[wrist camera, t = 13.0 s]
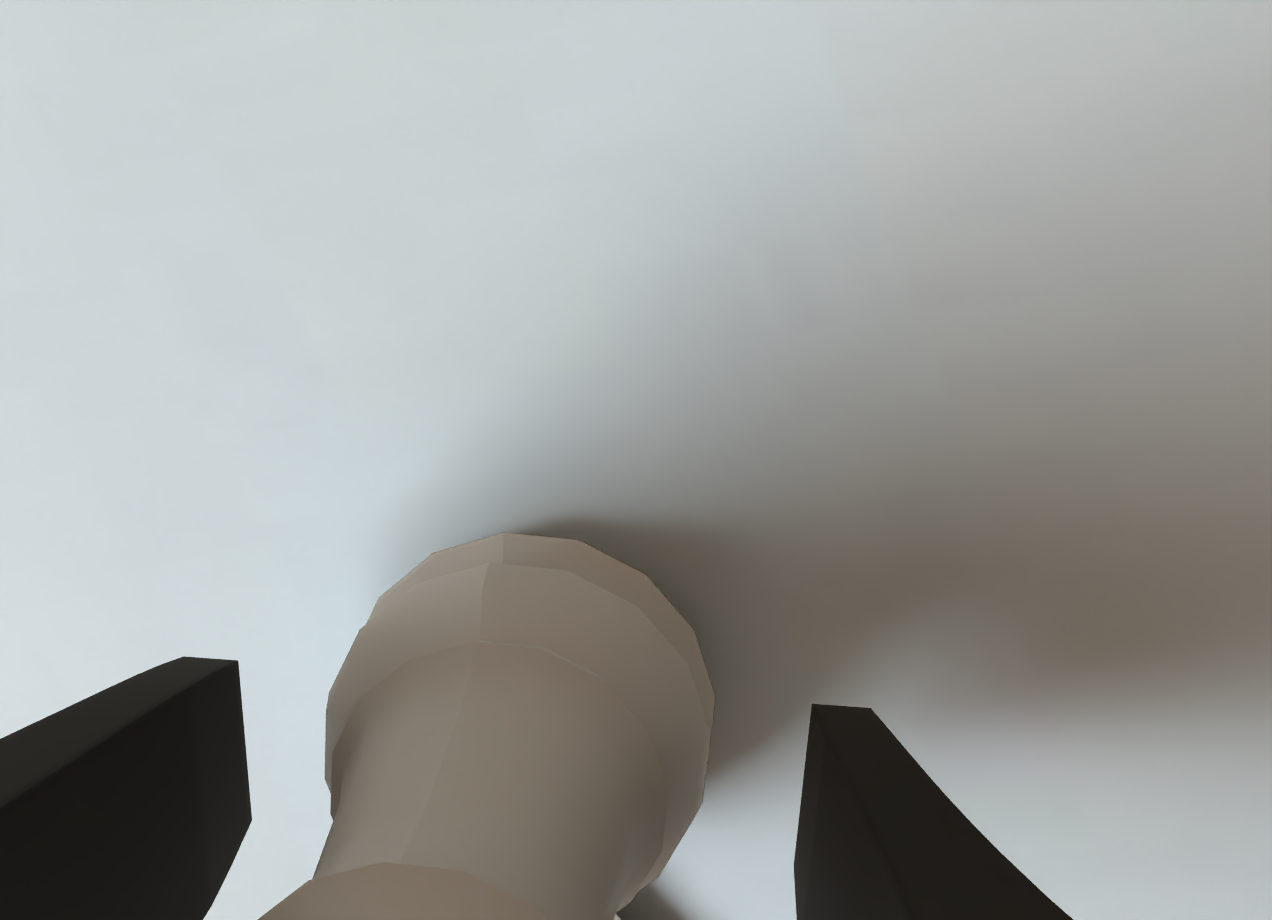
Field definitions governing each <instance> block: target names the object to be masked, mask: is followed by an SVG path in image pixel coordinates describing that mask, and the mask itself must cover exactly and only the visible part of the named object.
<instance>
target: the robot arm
mask: <svg viewBox="0 0 1272 920" xmlns="http://www.w3.org/2000/svg"><path fill="white" fill-rule="evenodd" d="M251 821H252V816H251V804H250V793H249V781H248V770H247V758H246V746H245V735H244V723H243V712H242V700H241V689H240V677H239V666H238V661H235V660H222V659H209V658H195V657H181V658H178V659H176V660H173V661H170V662H167V663H164V664H162V665H159V666H157V667H154V668H152V669H150V670H147V671H145V672H143V673H140V674H138V675H136V676H134V677H131V678H129V679H127V680H125V681H122V682H120V683H118V684H116V685H114V686H112V687H110V688H107V689H105V690H103V691H101V692H99V693H97V694H95V695H93V696H90V697H88V698H86V699H84V700H82V701H80V702H78V703H76V704H74V705H71V706H69V707H67V708H65V709H63V710H61V711H59V712H57V713H54V714H52V715H50V716H48V717H46V718H44V719H42V720H40V721H37V722H35V723H33V724H31V725H29V726H27V727H25V728H23V729H20V730H18V731H16V732H14V733H12V734H10V735H8V736H6V737H4V738H1V739H0V920H203V919H204V917H205V915H206V914H207V912H208V911H209V909H210V907H211V906H212V904H213V902H214V900H215V898H216V896H217V894H218V892H219V890H220V888H221V886H222V884H223V882H224V880H225V878H226V876H227V873H228V871H229V869H230V867H231V865H232V863H233V861H234V859H235V856H236V854H237V852H238V850H239V848H240V845H241V843H242V841H243V839H244V837H245V834H246V832H247V830H248V828H249V826H250V823H251ZM794 877H795V895H796V913H797V920H1073V919H1072V918H1071V917H1070V916H1068V915H1067V914H1066V913H1065V912H1064V911H1063V910H1062V909H1060V908H1059V907H1058V906H1057V905H1056V904H1055V903H1054V902H1052V901H1051V900H1050V899H1049V898H1048V897H1047V896H1046V895H1045V894H1044V893H1043V892H1042V891H1040V890H1039V889H1038V888H1037V887H1036V886H1035V885H1034V884H1033V883H1032V882H1031V881H1030V880H1029V879H1028V878H1027V877H1026V876H1025V875H1024V874H1023V873H1021V872H1020V871H1019V870H1018V869H1017V868H1016V867H1015V866H1014V865H1013V864H1012V863H1011V862H1010V861H1009V860H1008V859H1007V858H1006V857H1005V856H1004V855H1002V854H1001V853H1000V852H999V851H998V850H997V849H996V848H995V847H994V846H993V845H992V843H991V842H990V841H989V840H988V839H987V838H986V837H985V836H984V835H983V834H982V833H981V832H980V831H979V830H978V829H977V828H976V827H975V826H974V825H973V824H972V823H971V822H970V821H969V820H968V819H967V818H966V817H965V816H964V815H963V813H962V812H961V811H960V810H959V809H958V808H957V807H956V806H955V805H954V804H953V803H952V802H951V801H950V799H949V798H948V797H947V796H946V795H945V794H944V793H943V792H942V791H941V790H940V788H939V787H938V786H937V785H936V784H935V783H934V782H933V780H932V779H931V778H930V777H929V776H928V775H927V773H926V772H925V771H924V770H923V769H922V768H921V767H920V765H919V764H918V763H917V762H916V761H915V760H914V758H913V757H912V756H911V755H910V754H909V753H908V751H907V750H906V749H905V748H904V747H903V745H902V744H901V743H900V742H899V741H898V740H897V738H896V737H895V736H894V735H893V734H892V733H891V731H890V730H889V729H888V728H887V727H886V726H885V724H884V723H883V722H882V721H881V720H880V719H879V717H878V716H877V715H876V714H875V713H874V712H873V710H872V709H871V708H861V707H848V706H835V705H821V704H812V707H811V716H810V725H809V734H808V743H807V752H806V761H805V770H804V779H803V788H802V797H801V806H800V815H799V824H798V833H797V842H796V851H795V860H794Z"/></svg>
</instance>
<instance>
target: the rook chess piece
mask: <svg viewBox="0 0 1272 920" xmlns="http://www.w3.org/2000/svg"><path fill="white" fill-rule="evenodd" d="M714 704H715V694H714V691H713V688H712V685H711V682H710V679H709V676H708V673H707V669H706V666H705V663H704V660H703V657H702V654H701V651H700V648H699V645H698V641H697V638H696V635H695V632H694V630H693V629H692V627H691V626H690V625H689V624H688V623H687V622H686V621H685V619H684V618H683V617H682V616H681V615H680V614H679V612H678V611H677V610H676V609H675V608H674V607H673V605H672V604H671V603H670V602H669V601H668V600H667V599H666V597H665V596H664V595H663V594H662V593H661V592H660V590H659V589H658V588H657V587H656V586H655V585H654V584H653V582H652V581H651V580H650V579H649V578H648V577H647V575H645V574H643V573H642V572H640V571H638V570H636V569H634V568H632V567H630V566H628V565H626V564H624V563H622V562H620V561H618V560H616V559H614V558H612V557H610V556H608V555H607V554H605V553H603V552H601V551H599V550H597V549H595V548H593V547H591V546H589V545H587V544H585V543H583V542H581V541H579V540H572V539H563V538H553V537H543V536H533V535H523V534H513V533H500V534H497V535H493V536H490V537H486V538H483V539H479V540H476V541H473V542H469V543H466V544H462V545H459V546H455V547H452V548H449V549H445V550H442V551H438V552H435V553H432V554H431V555H430V556H429V557H428V558H426V559H425V560H424V561H423V562H422V563H420V564H419V565H418V566H417V567H415V568H414V569H413V570H412V571H411V572H409V573H408V574H407V575H406V576H405V577H403V578H402V579H401V580H400V581H399V582H397V583H396V584H395V585H394V586H392V587H391V588H390V589H389V590H388V591H386V592H385V593H384V594H383V595H382V596H380V597H379V599H378V601H377V603H376V605H375V607H374V609H373V611H372V613H371V615H370V617H369V619H368V621H367V623H366V625H365V626H364V627H362V628H361V629H360V630H359V632H358V634H357V636H356V638H355V641H354V643H353V645H352V647H351V649H350V651H349V653H348V655H347V657H346V659H345V661H344V663H343V665H342V667H341V669H340V671H339V673H338V675H337V677H336V680H335V682H334V684H333V686H332V688H331V690H330V692H329V697H328V703H327V709H326V742H325V780H326V783H327V785H328V788H329V790H330V793H331V816H332V818H333V824H332V827H331V829H330V832H329V835H328V838H327V840H326V843H325V846H324V849H323V851H322V854H321V857H320V860H319V862H318V865H317V868H316V871H315V873H314V876H313V879H312V880H309V881H307V882H306V883H305V884H304V885H302V886H301V887H300V888H298V889H297V890H296V891H294V892H293V893H292V894H291V895H289V896H288V897H287V898H285V899H284V900H283V901H281V902H280V903H279V904H278V905H276V906H275V907H274V908H272V909H271V910H270V911H268V912H267V913H266V914H264V915H263V916H262V917H261V918H259V919H258V920H614V917H615V914H616V912H618V911H619V910H620V909H622V908H623V907H625V906H626V905H628V904H629V903H630V902H631V901H632V900H633V898H634V896H635V895H636V893H637V892H638V891H639V890H640V889H642V888H643V887H645V886H646V885H647V884H649V883H650V882H652V881H653V880H655V879H656V878H657V877H659V875H660V873H661V872H662V870H663V868H664V867H665V865H666V864H667V862H668V860H669V859H670V857H671V855H672V854H673V852H674V850H675V849H676V847H677V845H678V844H679V842H680V840H681V839H682V837H683V835H684V834H685V832H686V831H687V829H688V827H689V826H690V824H691V822H692V821H693V819H694V817H695V815H696V813H697V812H698V810H699V808H700V806H701V804H702V802H703V795H704V786H705V777H706V768H707V764H708V756H709V748H710V739H711V730H712V721H713V713H714Z"/></svg>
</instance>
